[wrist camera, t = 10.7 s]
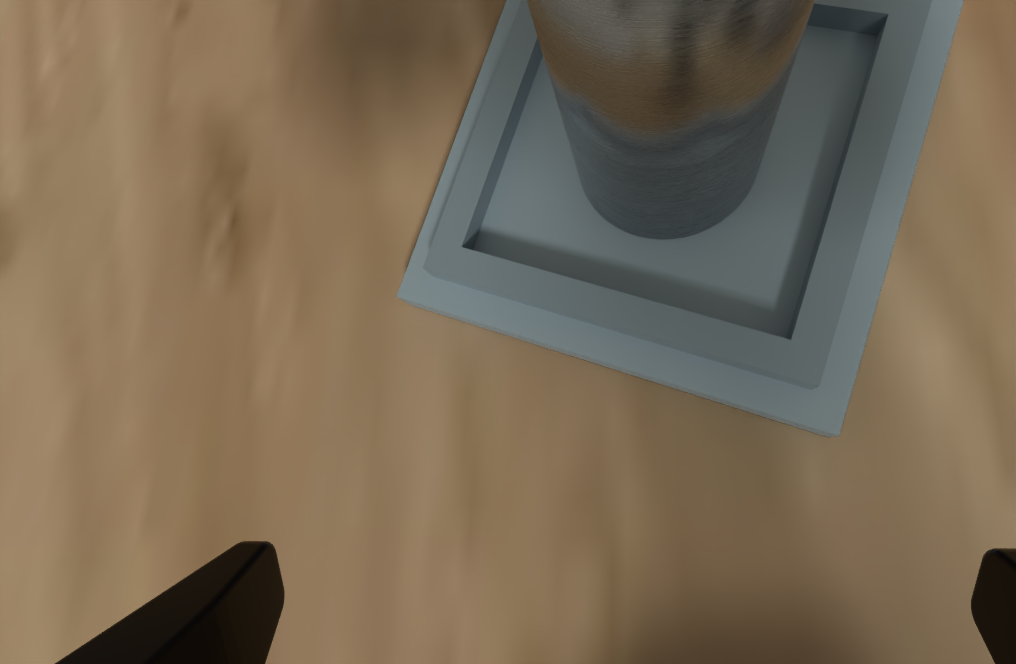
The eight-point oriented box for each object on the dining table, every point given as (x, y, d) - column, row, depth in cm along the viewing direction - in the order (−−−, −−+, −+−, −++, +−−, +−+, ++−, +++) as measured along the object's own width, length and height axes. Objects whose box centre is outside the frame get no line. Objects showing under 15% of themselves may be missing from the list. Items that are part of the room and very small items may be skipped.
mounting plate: (950, 13, 20) (983, -38, 18) (828, 437, 19) (849, 434, 17) (538, -44, 24) (526, -92, 22) (409, 304, 23) (384, 288, 21)
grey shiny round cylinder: (801, 153, 19) (1047, -388, 7) (658, 276, 20) (652, -34, 7) (673, 41, 21) (687, -558, 9) (543, 156, 21) (377, -264, 9)
